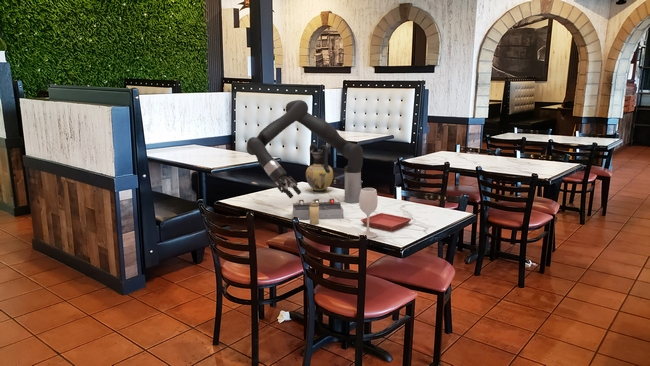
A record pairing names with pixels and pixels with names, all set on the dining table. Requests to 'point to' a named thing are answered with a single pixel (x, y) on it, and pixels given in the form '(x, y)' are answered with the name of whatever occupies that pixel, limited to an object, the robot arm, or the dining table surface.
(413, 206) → the dining table surface
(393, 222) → the plant saucer
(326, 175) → the amphora
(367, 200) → the wineglass
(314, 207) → the lockout cap
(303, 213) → the push button box
